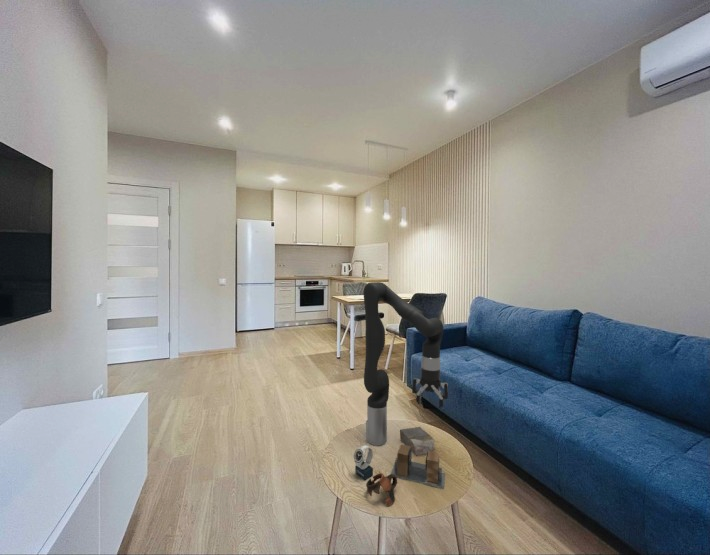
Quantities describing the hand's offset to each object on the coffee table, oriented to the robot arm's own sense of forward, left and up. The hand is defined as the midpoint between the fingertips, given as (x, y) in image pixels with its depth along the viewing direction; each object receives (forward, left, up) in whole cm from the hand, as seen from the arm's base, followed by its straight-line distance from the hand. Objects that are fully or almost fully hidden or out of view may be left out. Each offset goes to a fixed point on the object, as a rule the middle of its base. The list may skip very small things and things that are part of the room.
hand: (429, 405), depth 123 cm
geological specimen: (-7, +13, -25) cm, 29 cm away
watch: (-23, -15, -25) cm, 38 cm away
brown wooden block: (+2, -8, -24) cm, 25 cm away
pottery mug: (-13, -23, -25) cm, 37 cm away
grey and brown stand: (-3, -8, -25) cm, 26 cm away
